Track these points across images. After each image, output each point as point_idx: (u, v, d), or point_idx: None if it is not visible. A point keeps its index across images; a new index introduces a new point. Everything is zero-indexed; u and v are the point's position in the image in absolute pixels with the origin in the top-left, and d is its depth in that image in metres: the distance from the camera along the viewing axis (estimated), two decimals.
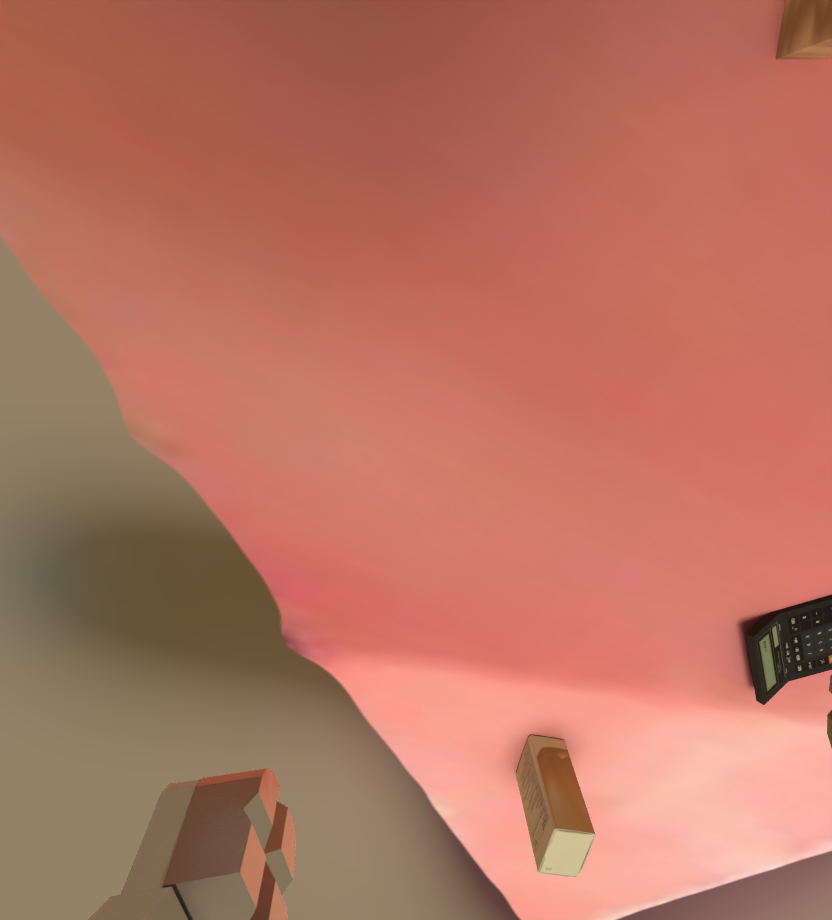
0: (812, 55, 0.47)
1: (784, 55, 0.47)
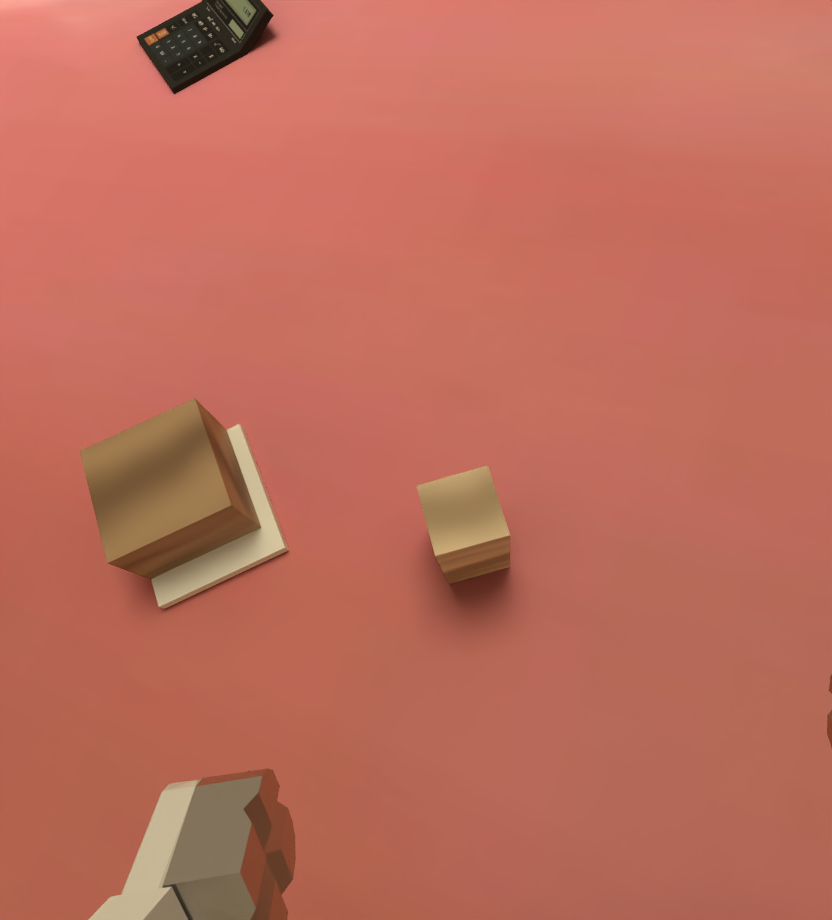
0: None
1: None
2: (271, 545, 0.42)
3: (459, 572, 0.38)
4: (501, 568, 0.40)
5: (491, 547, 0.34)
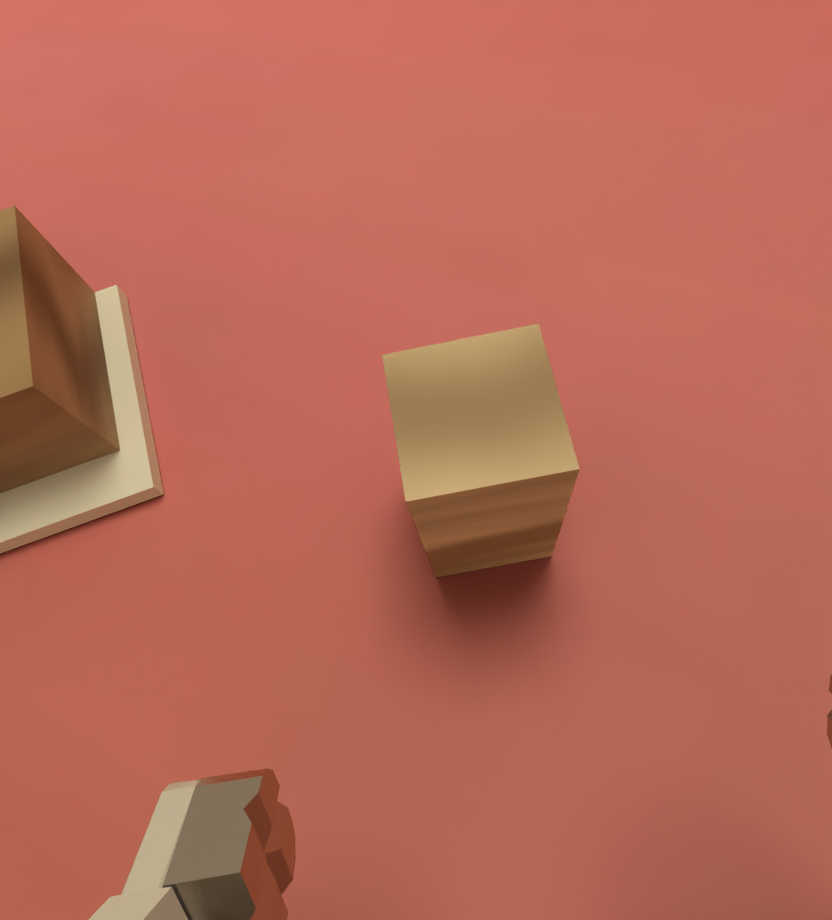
0: None
1: None
2: (131, 480, 0.24)
3: (457, 554, 0.20)
4: (536, 556, 0.22)
5: (531, 499, 0.16)
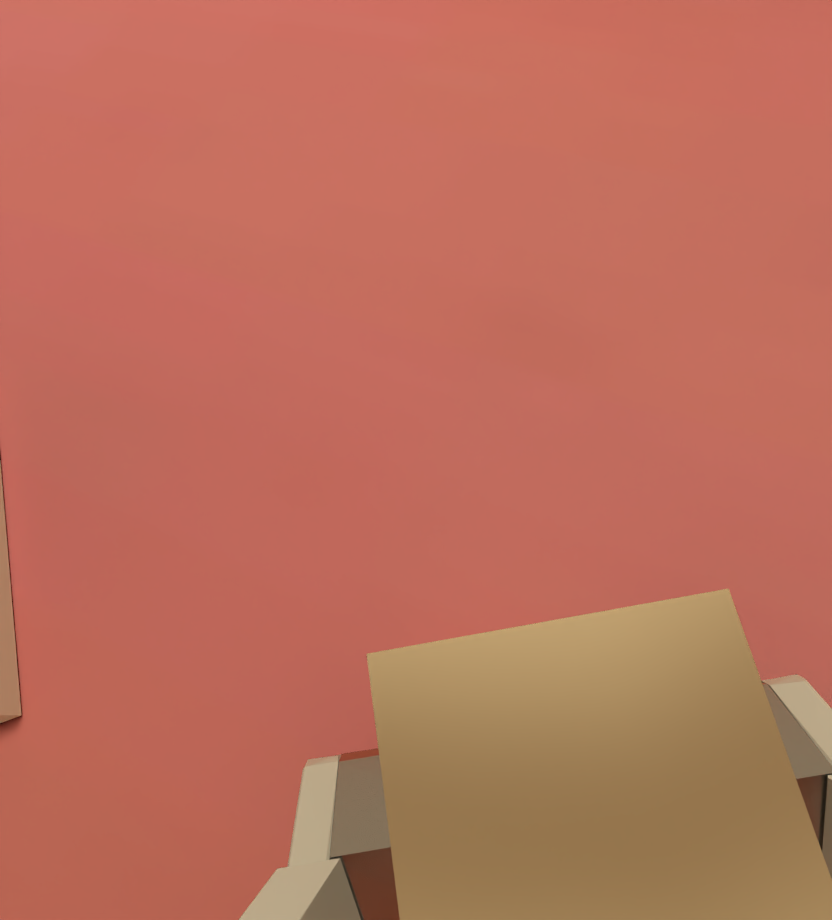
0: None
1: None
2: None
3: None
4: None
5: None
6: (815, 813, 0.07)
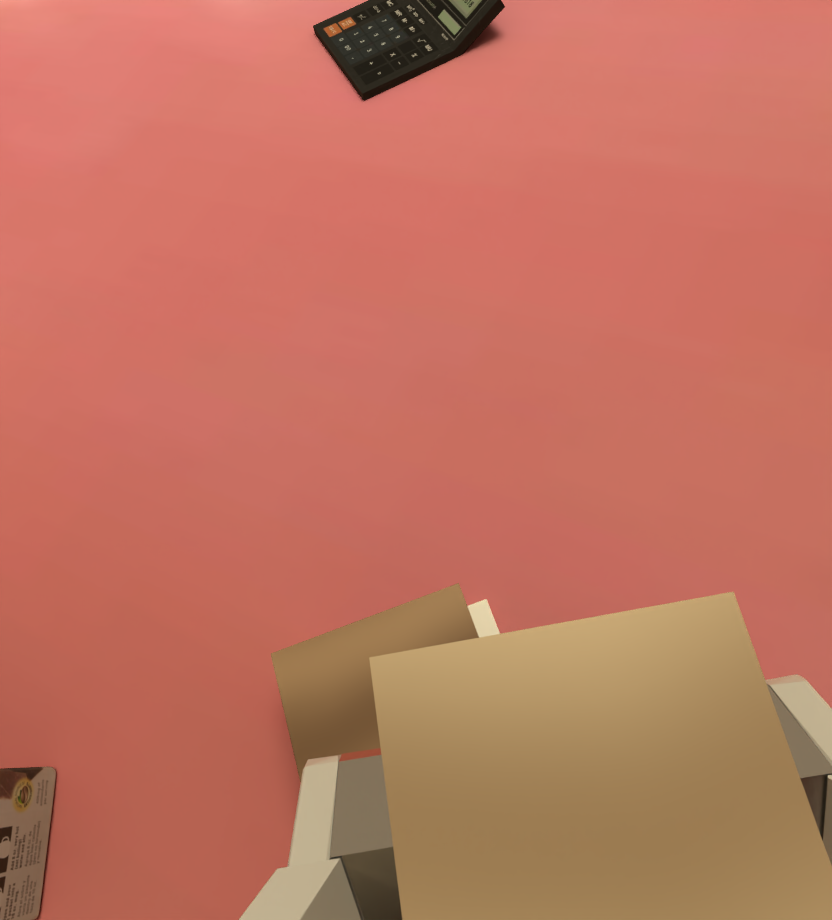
0: None
1: None
2: None
3: None
4: None
5: None
6: (815, 813, 0.07)
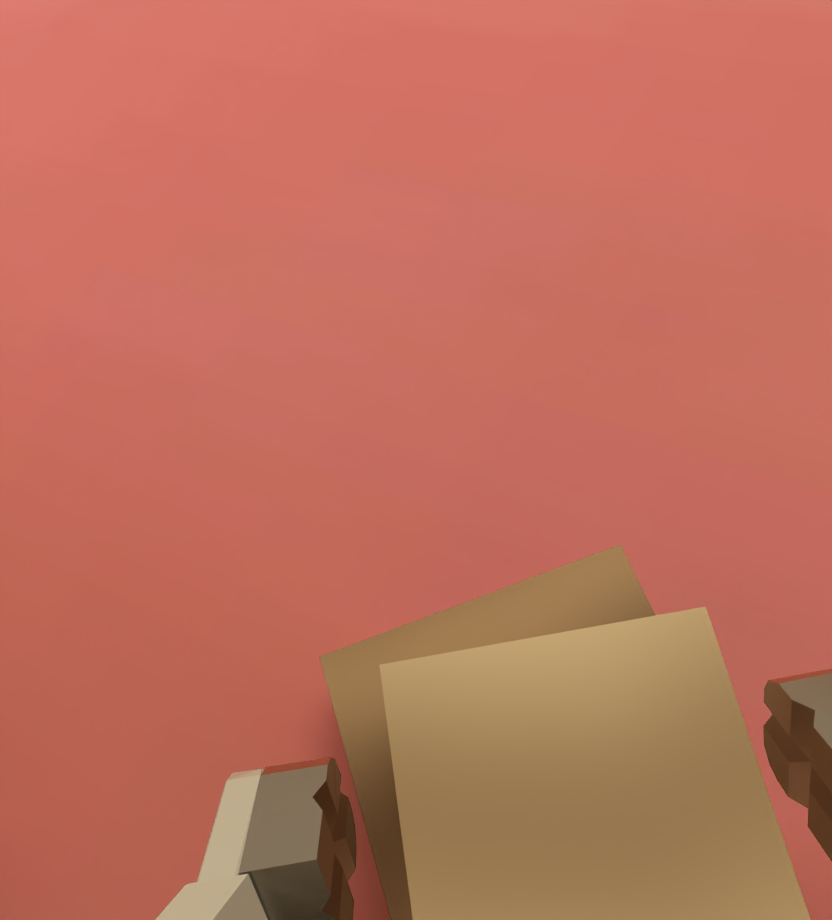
0: None
1: None
2: None
3: None
4: None
5: None
6: None
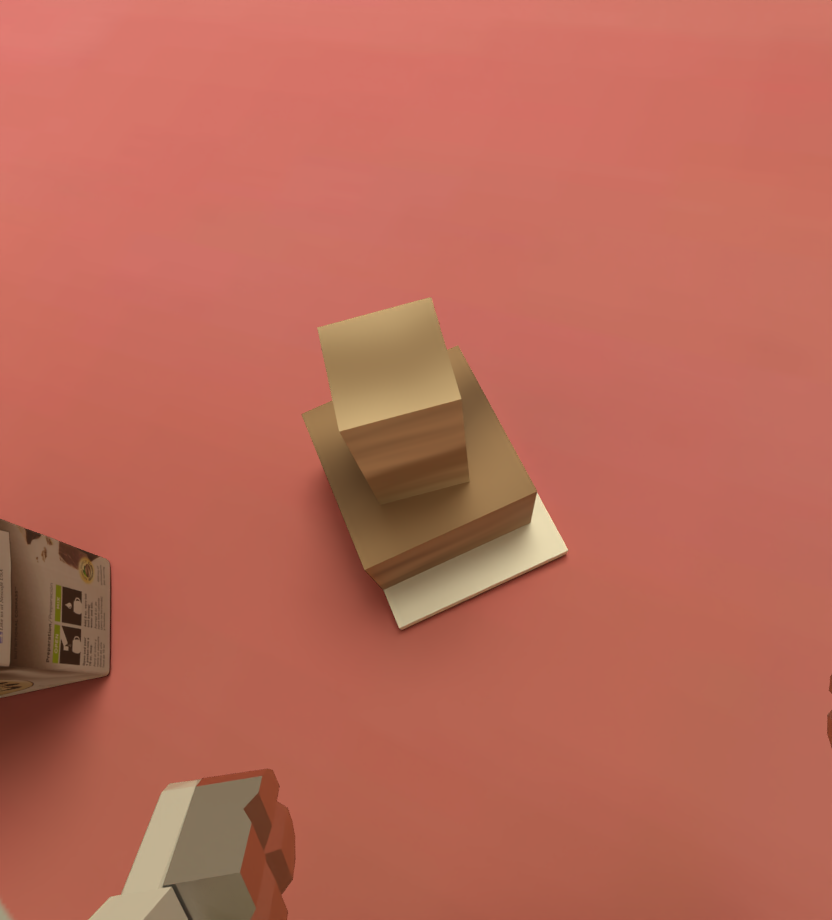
0: None
1: None
2: (548, 546, 0.31)
3: (391, 480, 0.25)
4: (457, 482, 0.27)
5: (434, 426, 0.22)
6: None
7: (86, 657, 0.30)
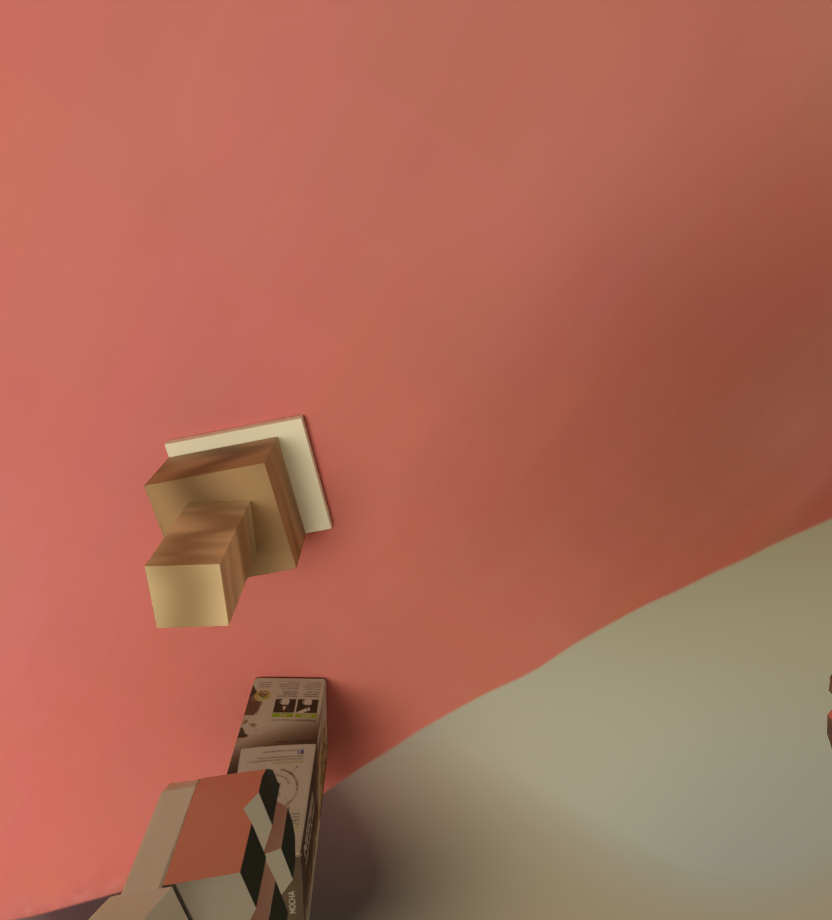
0: None
1: (184, 509, 0.41)
2: (296, 429, 0.46)
3: (247, 561, 0.41)
4: (250, 509, 0.42)
5: (228, 565, 0.36)
6: None
7: (314, 695, 0.53)
